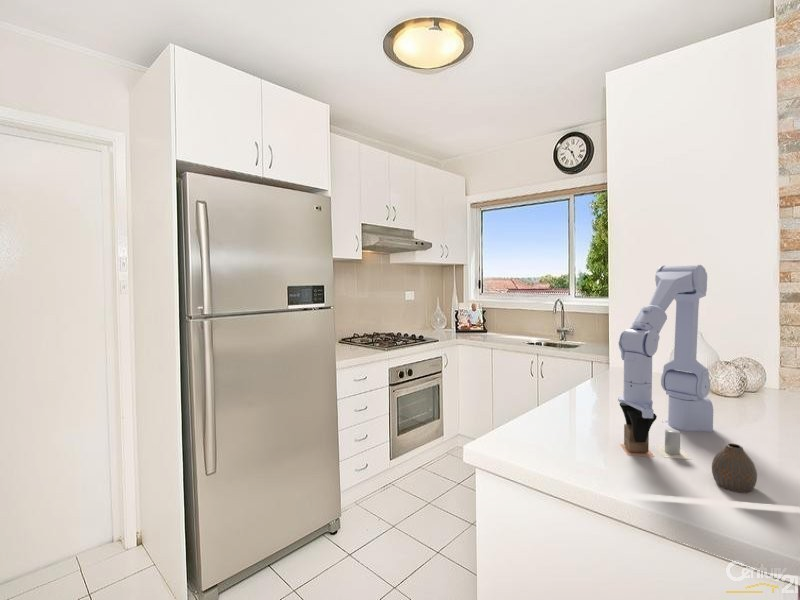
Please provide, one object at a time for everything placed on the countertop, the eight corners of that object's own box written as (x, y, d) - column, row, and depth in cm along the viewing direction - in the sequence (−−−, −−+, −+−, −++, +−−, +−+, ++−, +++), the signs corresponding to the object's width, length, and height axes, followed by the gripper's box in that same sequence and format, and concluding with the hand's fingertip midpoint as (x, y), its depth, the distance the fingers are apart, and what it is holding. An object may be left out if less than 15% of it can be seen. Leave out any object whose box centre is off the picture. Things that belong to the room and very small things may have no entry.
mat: (678, 449, 100) (678, 445, 100) (693, 464, 92) (694, 461, 92) (618, 445, 103) (618, 442, 103) (628, 460, 95) (628, 456, 95)
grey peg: (676, 450, 98) (677, 429, 97) (682, 455, 95) (682, 434, 95) (662, 449, 98) (662, 428, 98) (667, 454, 96) (668, 433, 95)
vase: (702, 481, 85) (703, 439, 84) (734, 479, 86) (735, 437, 85) (732, 500, 78) (733, 454, 78) (766, 497, 79) (768, 452, 78)
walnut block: (642, 445, 100) (642, 424, 99) (648, 452, 96) (648, 431, 96) (624, 444, 101) (624, 424, 100) (629, 451, 97) (629, 430, 96)
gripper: (610, 372, 105) (610, 425, 106) (628, 389, 91) (627, 449, 92) (641, 373, 104) (640, 426, 104) (664, 390, 89) (663, 451, 90)
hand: (636, 437), depth 98 cm, fingers closed on walnut block, 4 cm apart
